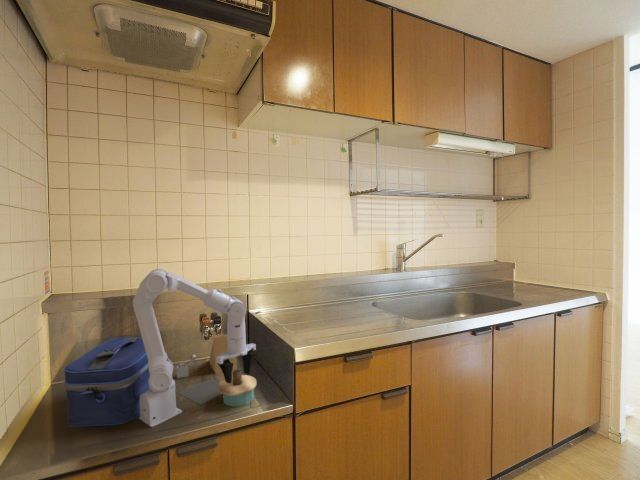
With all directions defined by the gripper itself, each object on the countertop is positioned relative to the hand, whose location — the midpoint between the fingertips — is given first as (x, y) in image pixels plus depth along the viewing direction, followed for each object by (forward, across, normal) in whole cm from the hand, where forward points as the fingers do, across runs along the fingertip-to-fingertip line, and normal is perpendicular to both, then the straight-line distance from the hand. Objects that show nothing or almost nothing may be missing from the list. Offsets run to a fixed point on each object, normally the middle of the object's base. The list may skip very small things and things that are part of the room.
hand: (238, 377), depth 110 cm
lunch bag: (+8, -24, +31) cm, 39 cm away
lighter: (+8, 0, +30) cm, 31 cm away
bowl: (+7, 0, 0) cm, 7 cm away
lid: (+3, 0, 0) cm, 3 cm away
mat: (+7, -3, +14) cm, 16 cm away
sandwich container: (+8, +14, +27) cm, 32 cm away
